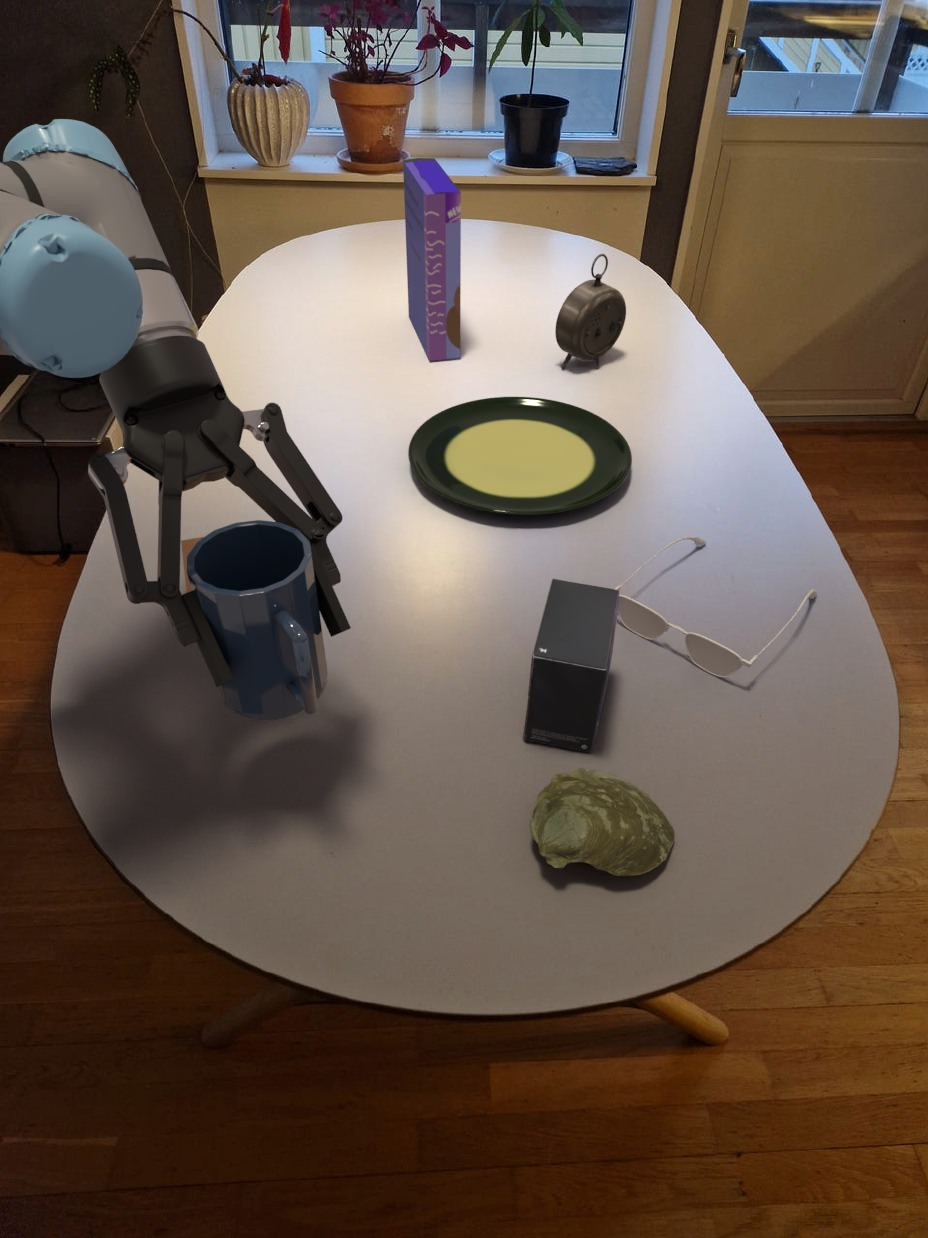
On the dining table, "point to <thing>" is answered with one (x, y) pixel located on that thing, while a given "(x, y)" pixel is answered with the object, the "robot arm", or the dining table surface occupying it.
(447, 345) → the cereal box
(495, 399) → the plate
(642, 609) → the eyeglasses
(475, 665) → the dining table surface
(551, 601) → the small box
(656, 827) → the seashell
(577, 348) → the alarm clock
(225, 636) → the mug
